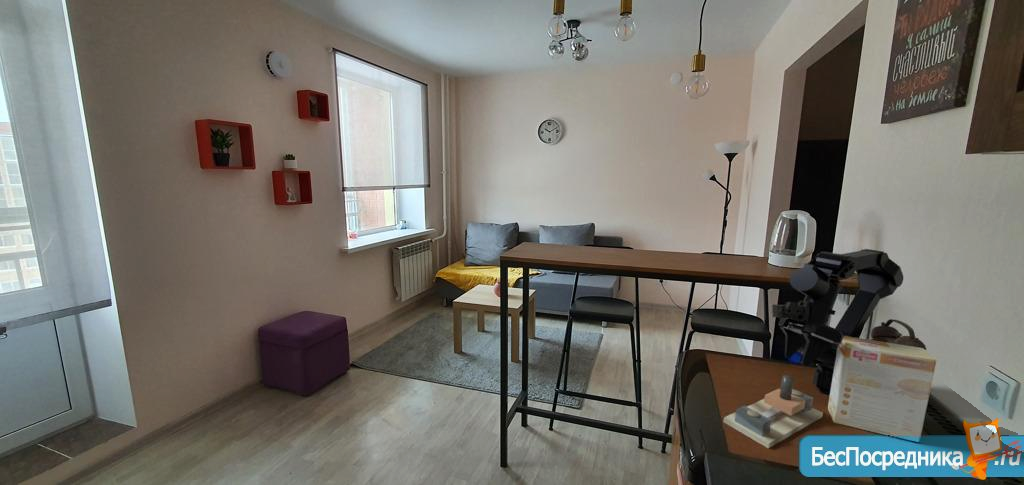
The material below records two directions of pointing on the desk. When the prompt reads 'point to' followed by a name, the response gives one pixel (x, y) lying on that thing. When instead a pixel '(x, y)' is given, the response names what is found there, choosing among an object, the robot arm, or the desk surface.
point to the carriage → (785, 397)
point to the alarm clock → (895, 335)
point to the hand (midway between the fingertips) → (795, 361)
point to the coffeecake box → (881, 386)
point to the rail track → (772, 420)
